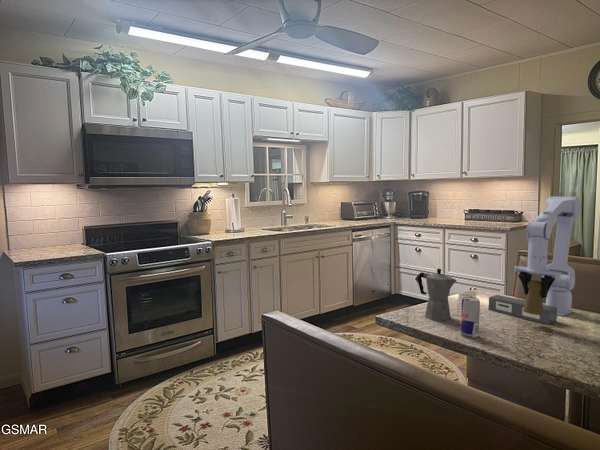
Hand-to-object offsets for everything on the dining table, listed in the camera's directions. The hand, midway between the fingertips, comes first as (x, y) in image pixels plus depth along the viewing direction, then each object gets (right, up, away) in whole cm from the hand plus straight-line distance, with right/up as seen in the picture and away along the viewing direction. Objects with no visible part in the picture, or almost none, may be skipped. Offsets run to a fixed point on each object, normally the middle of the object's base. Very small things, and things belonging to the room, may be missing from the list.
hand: (535, 295), depth 143 cm
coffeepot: (-31, -10, +11) cm, 34 cm away
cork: (-1, -6, 0) cm, 6 cm away
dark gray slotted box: (+1, -9, +12) cm, 15 cm away
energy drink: (-26, -11, -9) cm, 30 cm away
